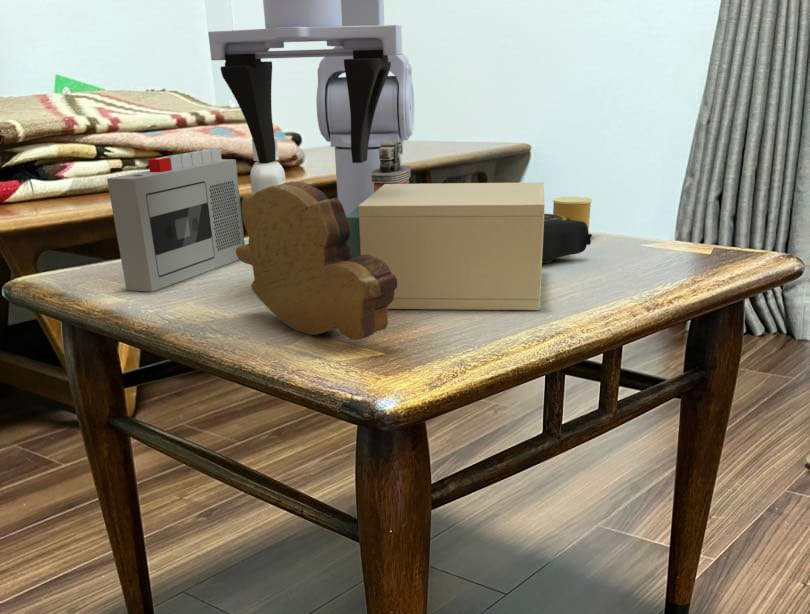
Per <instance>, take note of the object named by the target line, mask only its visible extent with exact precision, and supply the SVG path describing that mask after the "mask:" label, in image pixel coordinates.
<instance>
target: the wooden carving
mask: <svg viewBox="0 0 810 614" xmlns="http://www.w3.org/2000/svg"><path fill="white" fill-rule="evenodd" d="M241 214H242V222H243V226H244V227H245V230H246V233H247V235H248V243H245V245H243V246H240V247H238V248H237V249H236V255H237V257H238V258H239V261H240V262H241V263H244V264H246V265H251V267H252V270H253V271H252V272H253V277H254V279H253V281H252V283H251V285H250V287H251V289H252V291H253V293H254V294H255V295H256V297H257V298H258V299H259V300H260V301H261V302H262V303H263V304H264V306H266V307H267V308H268V309H269V311H271V313H273V314H274V315H275V317H277V318H278V319H279V320H280V321H281V322H282V323H284V324H285V325H286V326H289V327H290V328H292V329H293V330H295V331H297V332H300V333H303V334H307V335H310V336H311V335H312V336H316V335H321V334H324V333H327V332H329V331H331V330H334V329H336V330H338V331H339V332H340V333H341V334H343V335H344V336H345V337H347V338H348V339H353V340H363V339H366V338H368V337H370V336H372V335H374V333H377V332H380V331H383V330H385V329H386V328H387V327H388V324H389V318H388V317H389V313H388V312H389V309H387V308H388V305H389V304H390V303H392V301H393V299H394V292H395V289H396V288H397V279H396V277H395V275H394V274H392V272H391V270H390V268H389V267H388V265H387V264H386V263H384V262H383V261H382V260H380V259H379V258H377V257H373V256H371V255H360V256H356V257H354V258H352V255H351V252H350V250H351V248H350V245H349V243H348V241H347V240H348V239H349V237H350V226H349V222H348V220H347V217H346V214H345V211H344V208H343V206H342V204H341V202H340V201H339V199H338V197H333V198H332V197H331V198H328V196H326V194H325V193H324V192H323V191H322V190H320V189H318V188H317V187H315V186H313V185H311V184H309V183H306V182H304V181H294V180H293V181H288V182H287V181H286V183H283V184H280V185H276V186H271V187H267V188H265V189H262V190H260V191H258V192H256V193H255V194H252V193H247V194H243V195H242V200H241Z"/></svg>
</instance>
